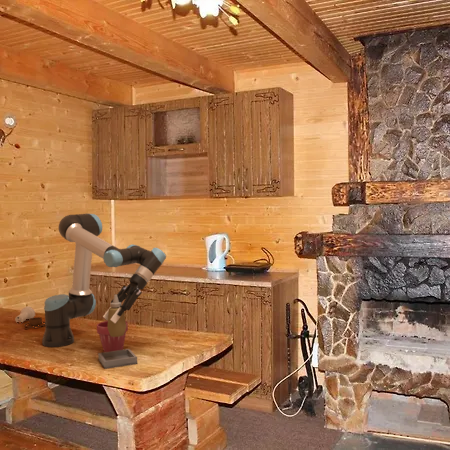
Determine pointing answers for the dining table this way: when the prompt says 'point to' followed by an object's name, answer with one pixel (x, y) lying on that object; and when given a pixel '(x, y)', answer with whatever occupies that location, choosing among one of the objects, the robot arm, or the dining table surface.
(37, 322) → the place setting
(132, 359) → the tray
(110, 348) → the plant pot
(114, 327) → the squeeze bottle
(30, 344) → the dining table surface
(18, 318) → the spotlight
